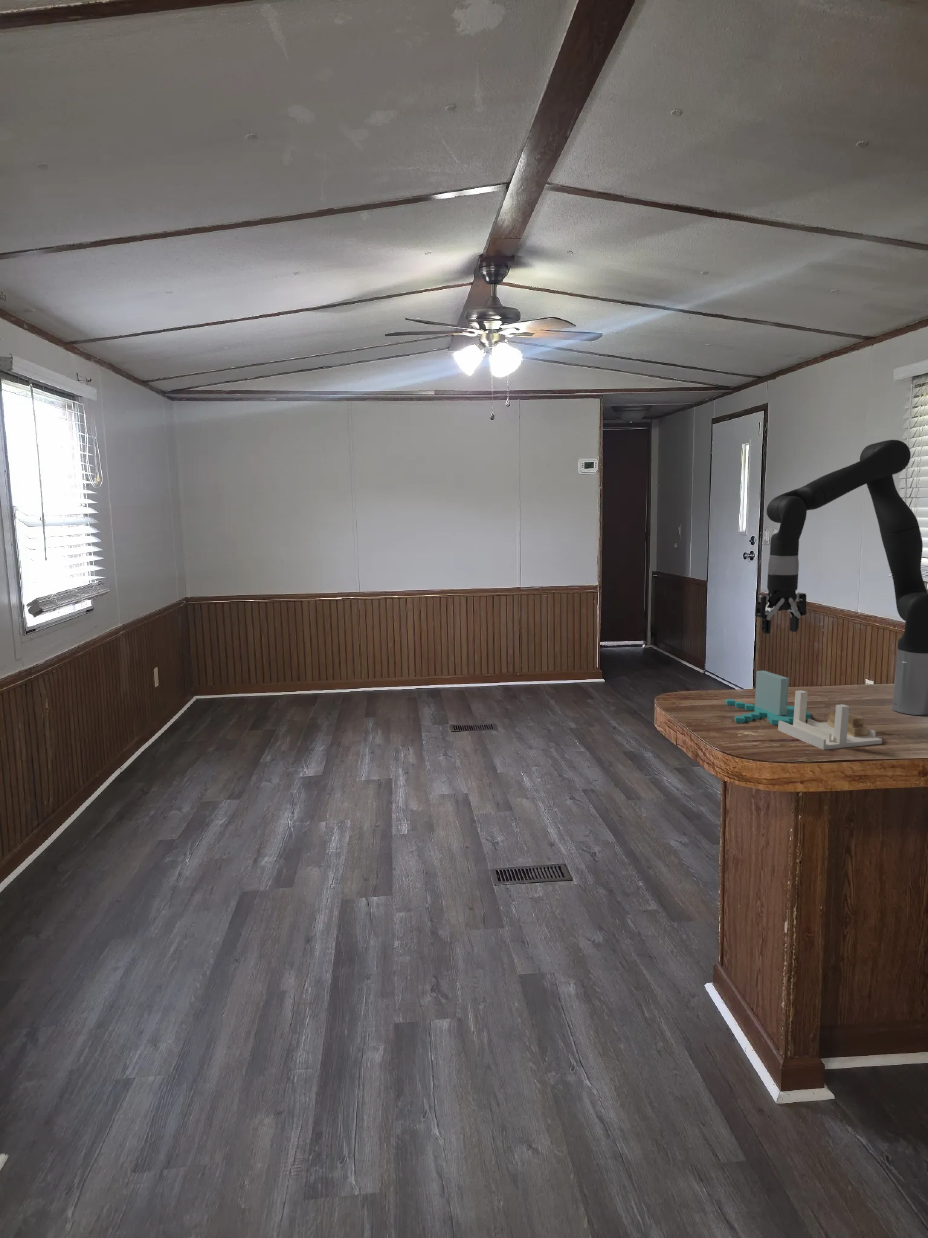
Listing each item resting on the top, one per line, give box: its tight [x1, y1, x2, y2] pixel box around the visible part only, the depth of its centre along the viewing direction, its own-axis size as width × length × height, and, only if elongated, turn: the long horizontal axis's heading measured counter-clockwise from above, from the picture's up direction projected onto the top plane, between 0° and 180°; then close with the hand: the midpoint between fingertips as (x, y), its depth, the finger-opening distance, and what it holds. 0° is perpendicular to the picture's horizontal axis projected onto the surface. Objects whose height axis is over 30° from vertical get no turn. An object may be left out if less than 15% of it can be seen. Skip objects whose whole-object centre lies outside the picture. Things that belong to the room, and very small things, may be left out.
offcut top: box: [828, 710, 865, 727], centre depth 193 cm, size 4×7×2 cm, turn 22°
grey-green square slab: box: [754, 670, 790, 716], centre depth 209 cm, size 2×10×10 cm, turn 17°
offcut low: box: [827, 718, 869, 737], centre depth 192 cm, size 4×9×2 cm, turn 16°
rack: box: [777, 689, 883, 751], centre depth 190 cm, size 17×16×10 cm
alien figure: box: [725, 698, 812, 726], centre depth 211 cm, size 20×2×20 cm
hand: (779, 632), depth 207 cm, fingers open, 8 cm apart
